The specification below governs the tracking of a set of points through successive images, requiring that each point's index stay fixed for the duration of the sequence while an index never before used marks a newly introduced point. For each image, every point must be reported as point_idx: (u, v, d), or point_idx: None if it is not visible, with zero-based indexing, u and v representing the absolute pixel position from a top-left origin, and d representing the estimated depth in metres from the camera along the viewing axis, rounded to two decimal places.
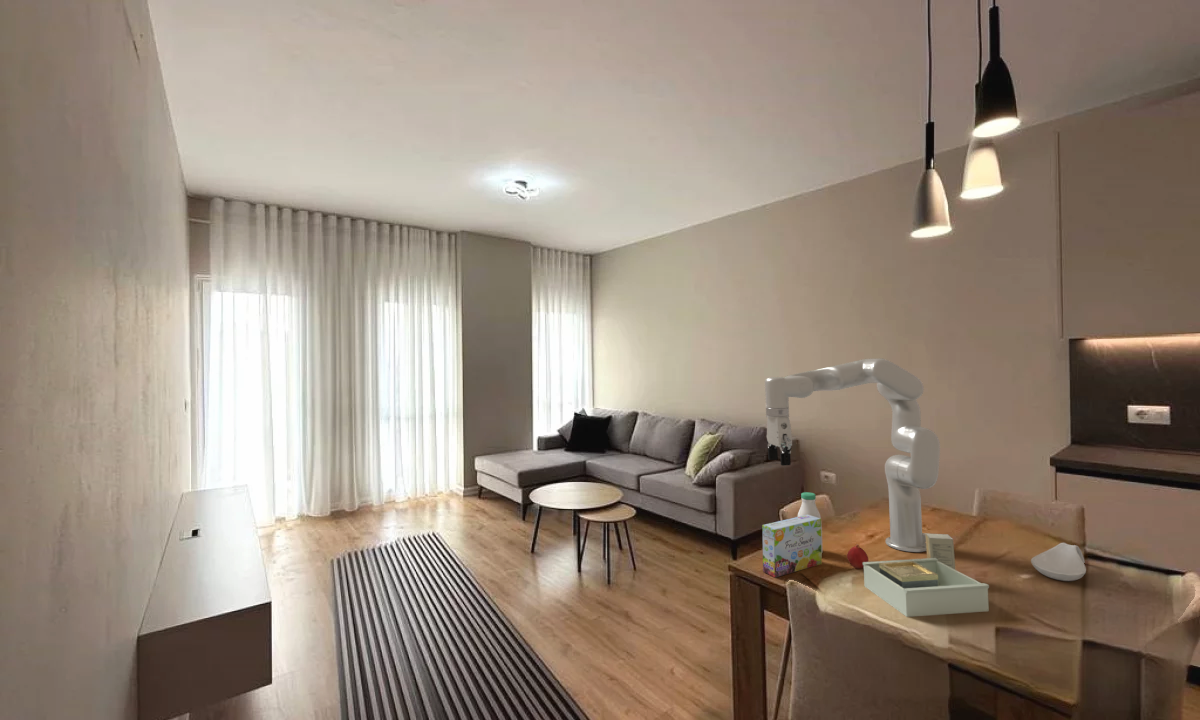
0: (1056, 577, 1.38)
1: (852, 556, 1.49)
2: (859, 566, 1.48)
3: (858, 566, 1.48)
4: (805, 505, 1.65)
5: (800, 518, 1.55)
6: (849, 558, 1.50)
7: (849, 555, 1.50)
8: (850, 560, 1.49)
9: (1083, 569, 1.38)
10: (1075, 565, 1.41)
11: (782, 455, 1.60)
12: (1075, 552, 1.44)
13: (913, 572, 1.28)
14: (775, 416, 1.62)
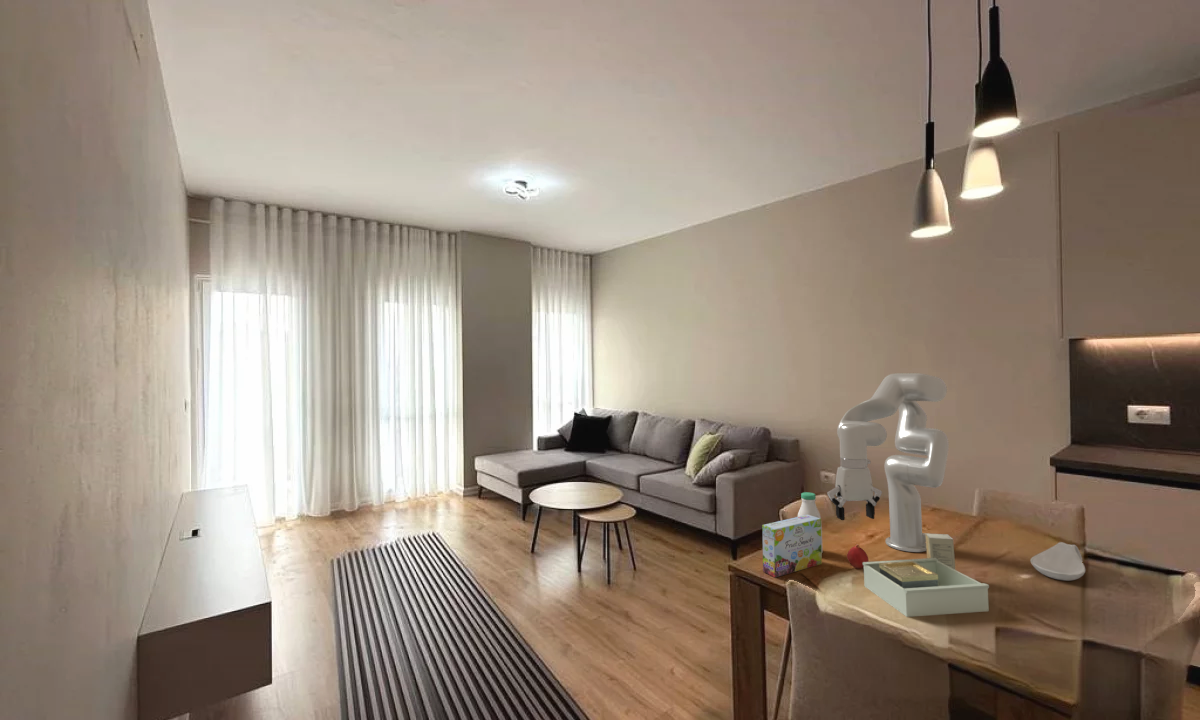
0: (1056, 577, 1.38)
1: (852, 556, 1.49)
2: (859, 566, 1.48)
3: (858, 566, 1.48)
4: (805, 505, 1.65)
5: (800, 518, 1.55)
6: (849, 558, 1.50)
7: (849, 555, 1.50)
8: (850, 560, 1.49)
9: (1082, 569, 1.38)
10: (1074, 564, 1.42)
11: None
12: (1074, 551, 1.44)
13: (913, 572, 1.28)
14: None
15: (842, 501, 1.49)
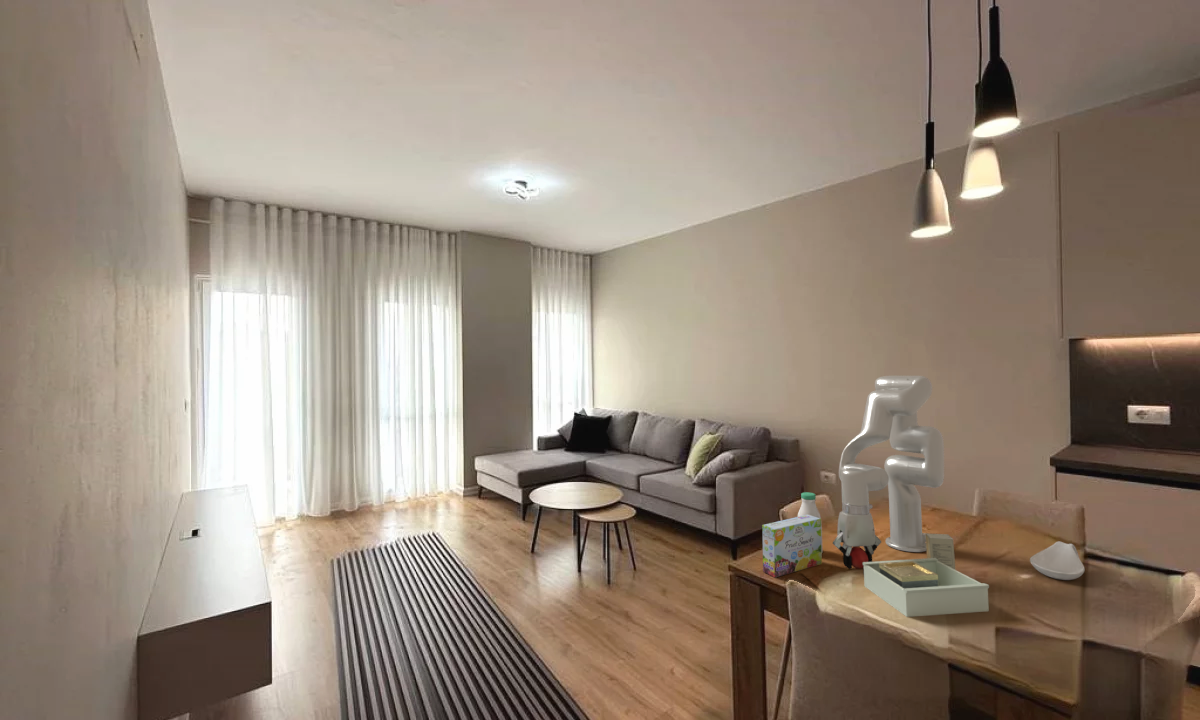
0: (1056, 576, 1.39)
1: (852, 556, 1.49)
2: (859, 566, 1.48)
3: (858, 566, 1.48)
4: (805, 505, 1.65)
5: (800, 518, 1.55)
6: None
7: None
8: None
9: (1082, 568, 1.38)
10: (1073, 564, 1.42)
11: None
12: (1072, 551, 1.45)
13: (913, 572, 1.28)
14: (869, 513, 1.49)
15: (848, 549, 1.49)
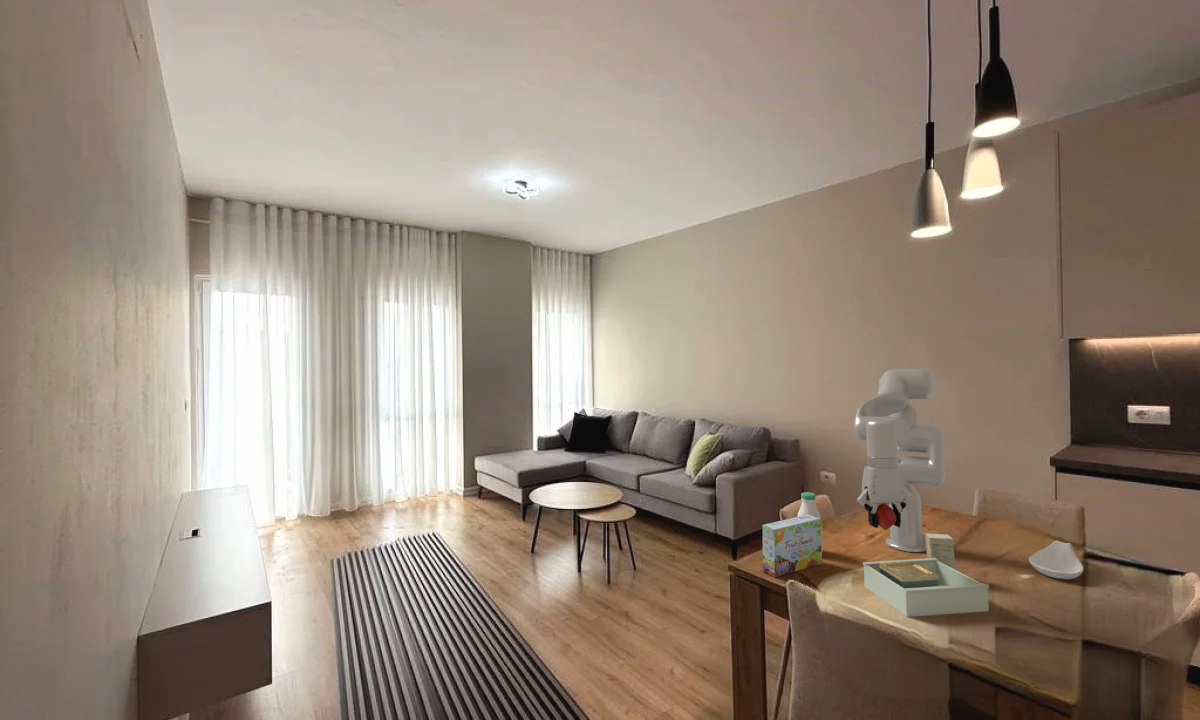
0: (1055, 576, 1.39)
1: (878, 514, 1.36)
2: (886, 525, 1.35)
3: (885, 525, 1.35)
4: (805, 505, 1.65)
5: (800, 518, 1.55)
6: None
7: None
8: None
9: (1080, 567, 1.39)
10: (1071, 563, 1.43)
11: None
12: (1070, 550, 1.46)
13: (913, 572, 1.28)
14: (897, 467, 1.36)
15: (874, 506, 1.36)
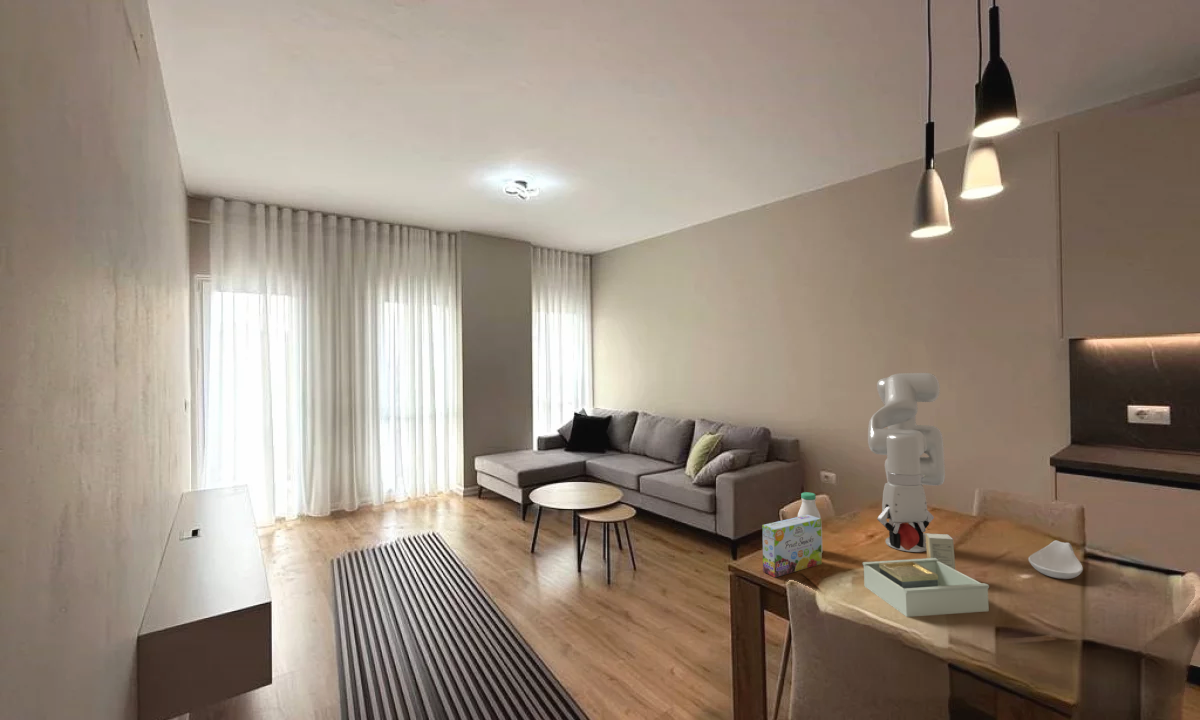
0: (1055, 575, 1.39)
1: (900, 534, 1.28)
2: (909, 545, 1.27)
3: (908, 545, 1.27)
4: (805, 505, 1.65)
5: (800, 518, 1.55)
6: None
7: None
8: None
9: (1080, 567, 1.39)
10: (1071, 563, 1.43)
11: None
12: (1069, 550, 1.46)
13: (913, 572, 1.28)
14: None
15: (896, 526, 1.28)
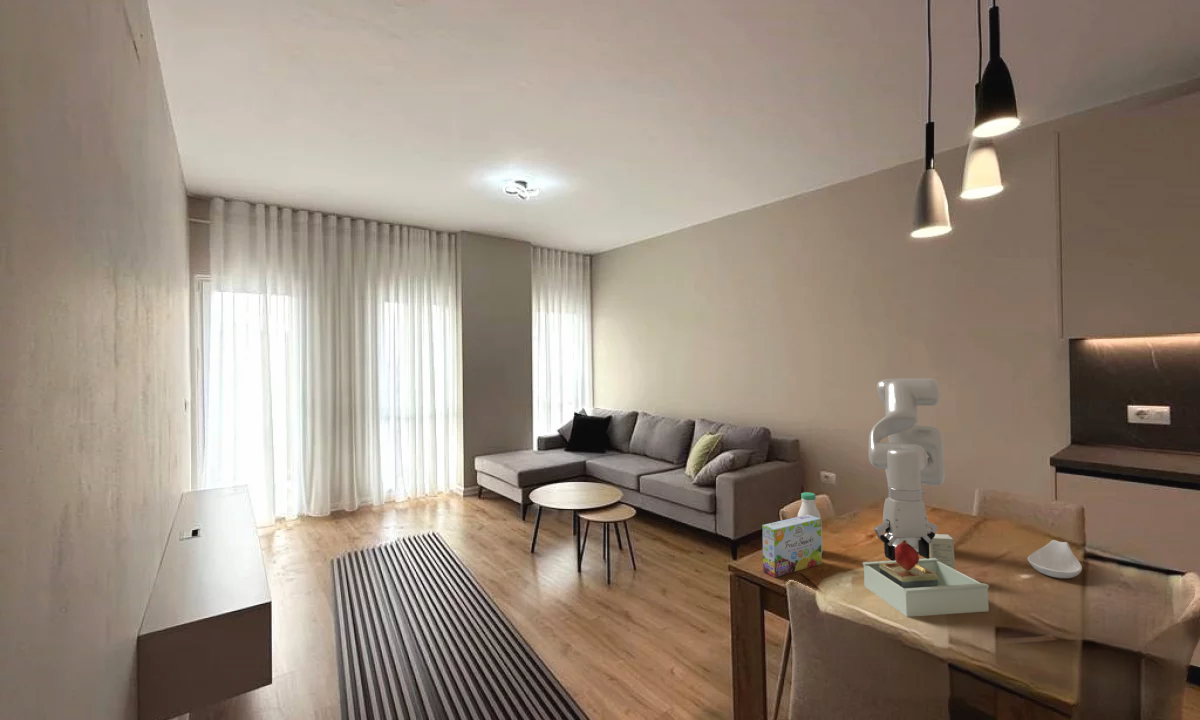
0: (1055, 575, 1.39)
1: (900, 554, 1.28)
2: (909, 565, 1.27)
3: (908, 565, 1.28)
4: (805, 505, 1.65)
5: (800, 518, 1.55)
6: (896, 557, 1.29)
7: (896, 553, 1.29)
8: (898, 559, 1.29)
9: (1079, 566, 1.40)
10: (1069, 562, 1.43)
11: None
12: (1068, 549, 1.46)
13: (913, 572, 1.28)
14: (921, 499, 1.28)
15: (892, 538, 1.28)
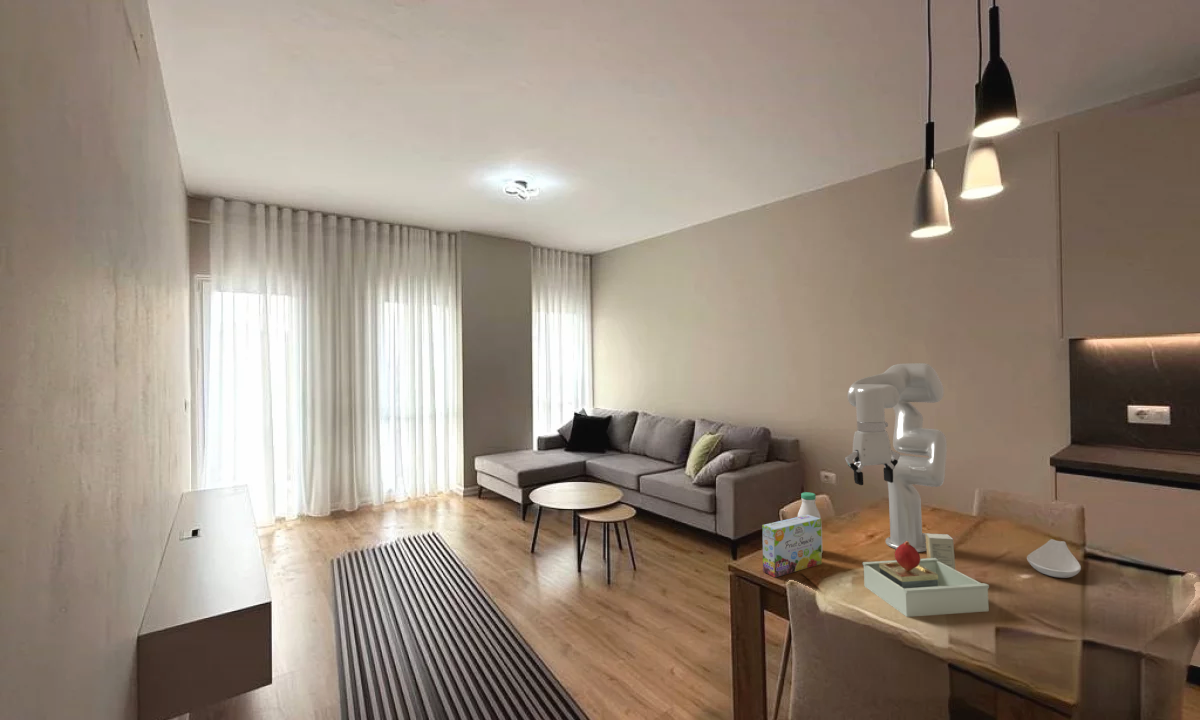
0: (1054, 575, 1.40)
1: (901, 555, 1.28)
2: (910, 566, 1.27)
3: (909, 566, 1.27)
4: (805, 505, 1.65)
5: (800, 518, 1.55)
6: (897, 557, 1.29)
7: (897, 554, 1.29)
8: (899, 559, 1.28)
9: (1078, 565, 1.40)
10: (1068, 561, 1.44)
11: None
12: (1066, 548, 1.47)
13: (913, 572, 1.28)
14: None
15: (860, 466, 1.45)
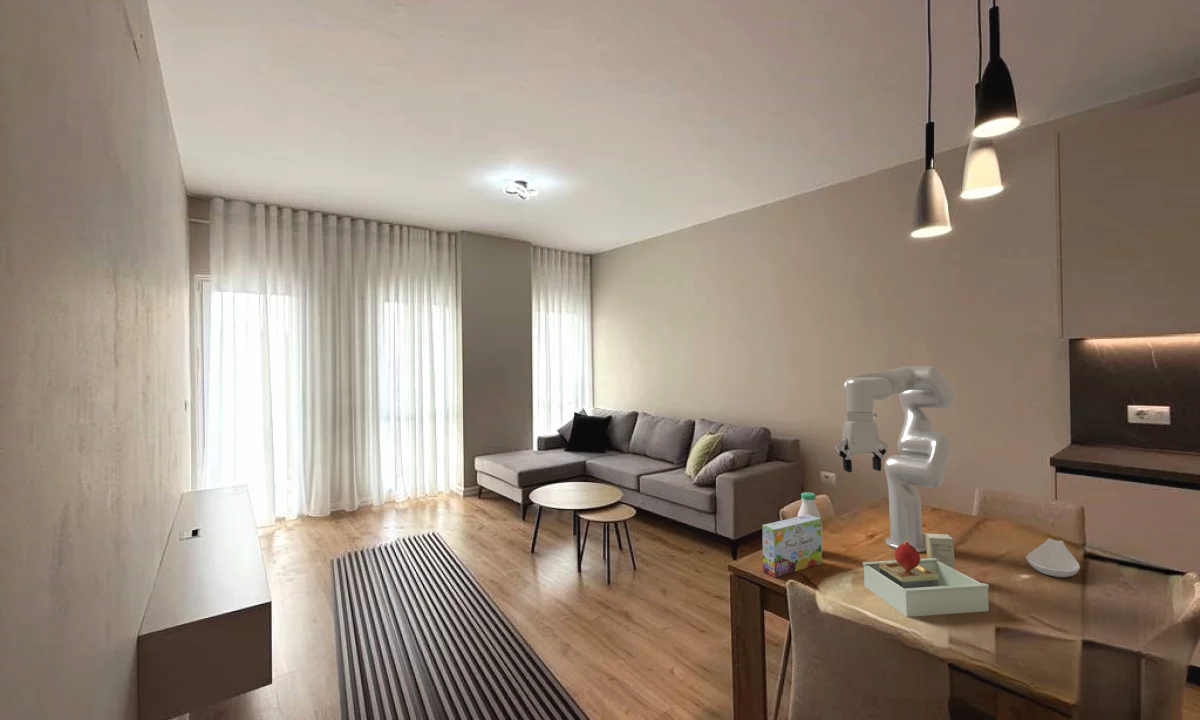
0: (1054, 574, 1.40)
1: (901, 555, 1.28)
2: (910, 566, 1.27)
3: (909, 566, 1.27)
4: (805, 505, 1.65)
5: (800, 518, 1.55)
6: (897, 557, 1.29)
7: (897, 554, 1.29)
8: (899, 559, 1.28)
9: (1077, 565, 1.41)
10: (1067, 561, 1.44)
11: None
12: (1064, 548, 1.47)
13: (913, 572, 1.28)
14: (873, 420, 1.51)
15: (849, 453, 1.51)
